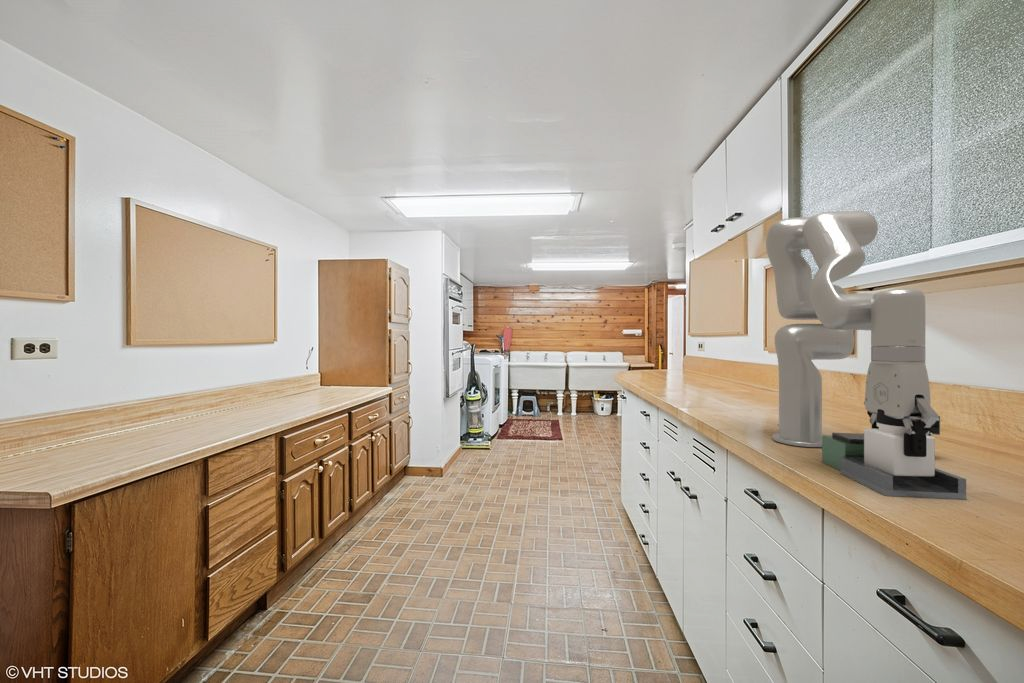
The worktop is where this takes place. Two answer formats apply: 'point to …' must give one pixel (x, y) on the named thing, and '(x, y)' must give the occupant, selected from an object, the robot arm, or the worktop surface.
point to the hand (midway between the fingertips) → (897, 449)
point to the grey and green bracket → (849, 459)
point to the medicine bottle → (895, 449)
